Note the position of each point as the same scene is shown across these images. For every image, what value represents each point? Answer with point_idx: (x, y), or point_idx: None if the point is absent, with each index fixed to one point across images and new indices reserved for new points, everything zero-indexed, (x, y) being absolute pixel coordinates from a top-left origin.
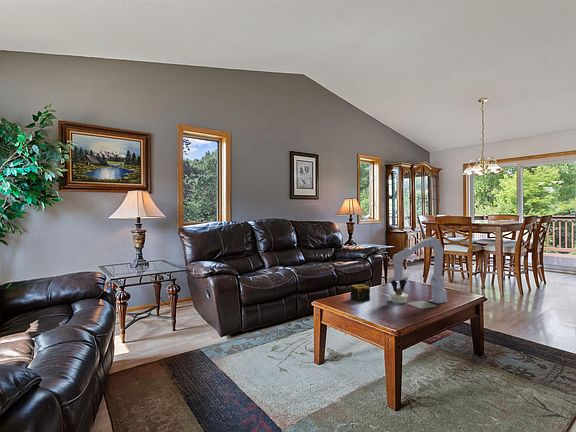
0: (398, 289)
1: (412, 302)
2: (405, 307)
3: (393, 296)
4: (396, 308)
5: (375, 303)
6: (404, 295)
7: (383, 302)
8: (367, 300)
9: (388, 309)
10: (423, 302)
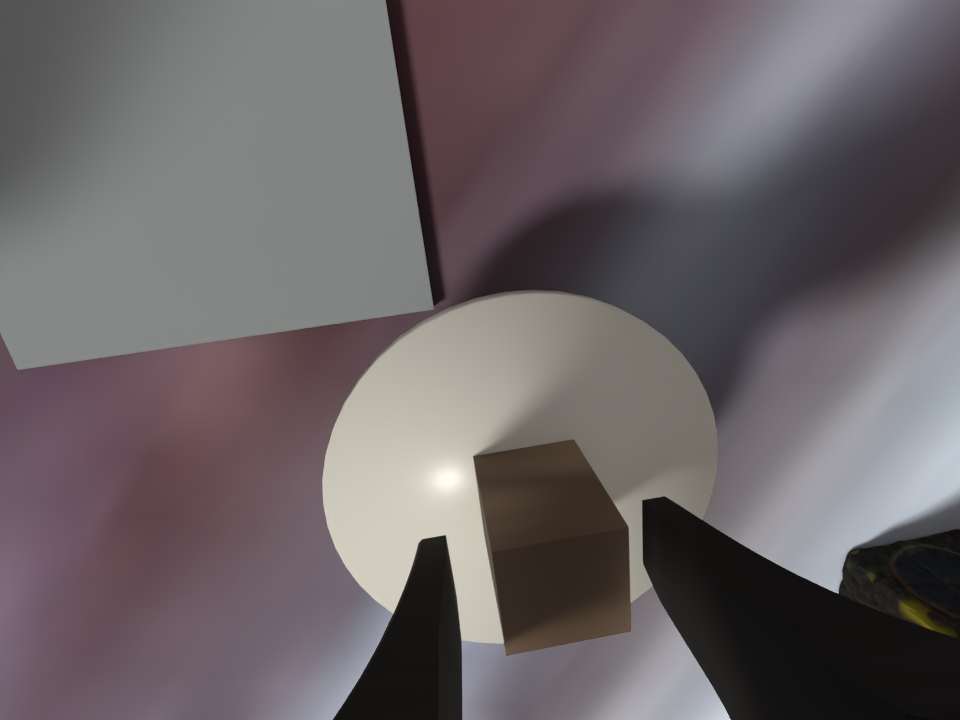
0: (618, 533)
1: (299, 301)
2: (590, 76)
3: (706, 406)
4: (781, 71)
5: (869, 431)
6: (443, 404)
7: (733, 452)
8: (896, 551)
9: (942, 59)
10: (60, 243)
